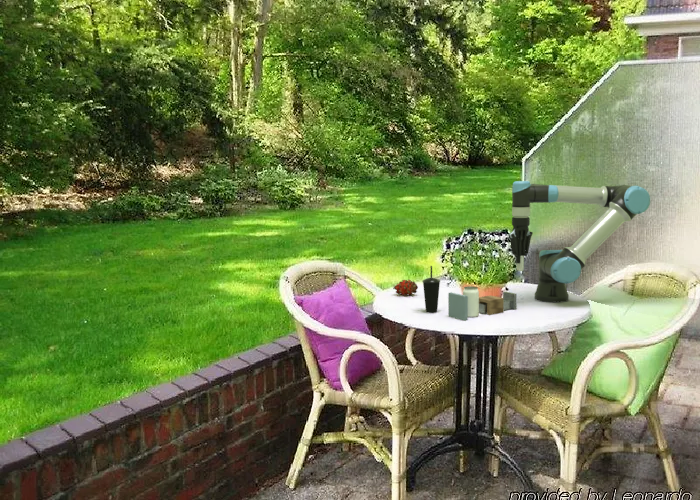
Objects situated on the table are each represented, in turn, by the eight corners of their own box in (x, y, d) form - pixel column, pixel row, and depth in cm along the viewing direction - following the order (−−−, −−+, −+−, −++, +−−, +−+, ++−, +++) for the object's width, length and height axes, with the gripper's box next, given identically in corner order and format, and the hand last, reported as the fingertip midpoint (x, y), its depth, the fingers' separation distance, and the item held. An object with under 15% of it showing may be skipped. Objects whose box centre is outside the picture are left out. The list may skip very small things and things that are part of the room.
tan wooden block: (490, 309, 305) (490, 295, 304) (503, 312, 298) (503, 298, 298) (476, 311, 301) (476, 297, 300) (489, 315, 294) (489, 300, 293)
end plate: (451, 315, 294) (451, 292, 293) (467, 320, 286) (467, 296, 285) (448, 316, 293) (448, 292, 292) (464, 320, 285) (464, 296, 284)
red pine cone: (419, 299, 337) (395, 302, 339) (419, 286, 343) (395, 289, 346) (416, 287, 331) (391, 290, 334) (416, 274, 337) (391, 277, 340)
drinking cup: (422, 313, 299) (422, 267, 297) (422, 309, 307) (422, 264, 304) (440, 313, 298) (440, 267, 296) (440, 309, 306) (440, 264, 303)
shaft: (505, 306, 309) (505, 291, 308) (516, 308, 304) (516, 293, 303) (476, 311, 299) (476, 296, 299) (486, 314, 294) (486, 299, 293)
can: (481, 315, 294) (481, 287, 292) (473, 318, 289) (473, 289, 288) (468, 313, 298) (468, 285, 297) (460, 316, 293) (460, 287, 292)
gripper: (524, 215, 311) (524, 267, 314) (503, 217, 304) (503, 270, 307) (537, 216, 304) (536, 270, 308) (516, 218, 297) (515, 273, 300)
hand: (520, 270), depth 307 cm, fingers closed
